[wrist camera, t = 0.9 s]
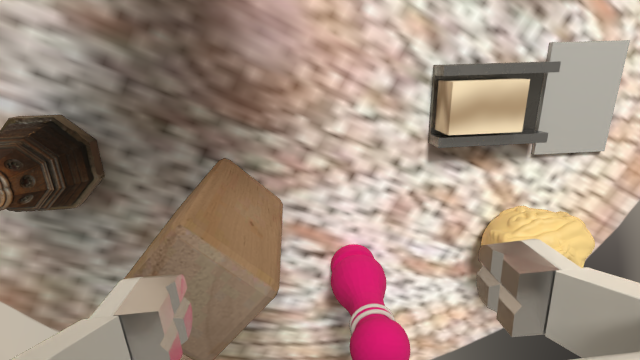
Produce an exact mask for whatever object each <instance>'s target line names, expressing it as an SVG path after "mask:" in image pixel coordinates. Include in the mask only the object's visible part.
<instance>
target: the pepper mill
mask: <svg viewBox="0 0 640 360" xmlns="http://www.w3.org/2000/svg"><path fill="white" fill-rule="evenodd" d="M331 269H332V275H331V287H332V290H333V293H334V295H335V297H336V299H337V300H338V302H339V303H340V304H341V305H342V306H343V307H344V308H346V309H347V310H348V311H349V313H350V315H351V319H350V323H349V327H350V331H351V336H352V337H351V340H350V353H351V357H352V360H409V357H410V344H409V340H408V337H407V334H406V333H405V331H404V329H403V328H402V327H401V326H400V325H399V324H398V323H397V322H396V321H395V319H394V316H393V314H392V312H391V311H390V310H389V309H388V308H387V307H385V305H384V301H383V298H384V295H385V290H386V277H385V274H384V271H383V268H382V267H381V265H380V264H379V263H378V262H377V261H376V260H375V259H374V257H373V255H372V253H371V252H370V251H369V250H368V249H367V248H366V247H364V246H361V245H347V246H345V247H342V248H341V249H339V250H338V251H337V252H336V253H335V255H334V256H333V258H332V261H331Z"/></svg>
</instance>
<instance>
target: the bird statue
mask: <svg viewBox="0 0 640 360" xmlns="http://www.w3.org/2000/svg"><path fill="white" fill-rule="evenodd" d="M104 176H105V175H104V171H103V167H102V163H101V158H100V154H99V150H98V146H97V141H96V140H95V139H94V138H93V137H91V136H90V135H89V134H87V133H86V132H84V131H83V130H82V129H80V128H79V127H78V126H76V125H75V124H73V123H72V122H71V121H69V120H68V119H66V118H65V117H64V116H62V115H44V116H18V117H13V118H9V119H8V120H7V122H6V123H5V124H4V126H3V128H2V129H1V130H0V210H4V209H7V210H9V211H15V212H22V211H35V210H38V211H42V210H56V209H70V208H77V207H78V206H80V205H81V204H82V203H83V202H84V201H85V200H86V199H87V197H88V196H89V195H90V194H91V192H92V191H93V190H94V189H95V187H96V186H97V185H98V184H99V182H100V181H101V180H102V179H103V178H104Z"/></svg>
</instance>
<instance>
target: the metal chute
mask: <svg viewBox="0 0 640 360" xmlns="http://www.w3.org/2000/svg"><path fill="white" fill-rule="evenodd" d="M560 65H561V61H557V62H519V63H486V64H454V65H434V67H433V81H432V96H431V110H430V124H429V139H428V143H430V144H432V145H434V146H436V147H437V148H444V147H464V146H485V145H506V144H526V143H547V138H548V133H546V132H543V131H539V130H535V126H536V120H537V113H538V107H539V101H540V95H541V89H542V83H543V77H544V73H550V72H559V70H560ZM497 78H517V79H530V84H529V91H528V97H527V104H526V110H525V117H524V123H523V130H522V132H510V133H488V134H466V135H447V134H444V133H442V132H440V131H437V130H435V120H436V107H437V93H438V81H439V80H468V79H497Z"/></svg>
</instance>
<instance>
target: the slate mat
mask: <svg viewBox="0 0 640 360" xmlns="http://www.w3.org/2000/svg"><path fill="white" fill-rule="evenodd" d="M629 42H630V40H626V41H588V42H552V43H549V49H548V55H547V61H546V62H557V61H561V65H560V70H559V72H550V73H545V74H544V80H543V86H542V92H541V98H540V104H539V110H538V116H537V122H536V128H535V130H539V131H543V132H546V133H548V138H547V143H533V146H532V152H531V154H534V155H537V154H556V153H576V152H596V151H604V150H605V146H606V141H607V137H608V133H609V128H610V124H611V120H612V115H613V111H614V107H615V102H616V98H617V94H618V90H619V85H620V81H621V77H622V72H623V68H624V64H625V59H626V55H627V51H628V46H629Z"/></svg>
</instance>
